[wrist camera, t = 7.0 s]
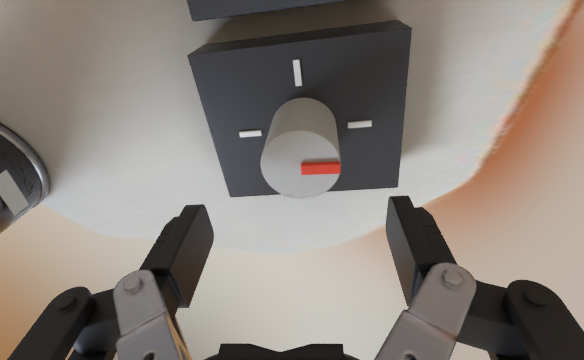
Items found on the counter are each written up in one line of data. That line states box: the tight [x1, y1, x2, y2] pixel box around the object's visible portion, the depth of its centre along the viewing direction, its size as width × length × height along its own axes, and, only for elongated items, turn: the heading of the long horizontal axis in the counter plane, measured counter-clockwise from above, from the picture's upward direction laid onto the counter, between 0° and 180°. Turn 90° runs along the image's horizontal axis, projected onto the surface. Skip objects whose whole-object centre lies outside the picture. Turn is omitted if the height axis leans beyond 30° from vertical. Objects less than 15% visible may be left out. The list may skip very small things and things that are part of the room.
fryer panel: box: [188, 20, 412, 197], centre depth 20 cm, size 12×10×3 cm
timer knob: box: [261, 98, 341, 199], centre depth 17 cm, size 4×4×5 cm
